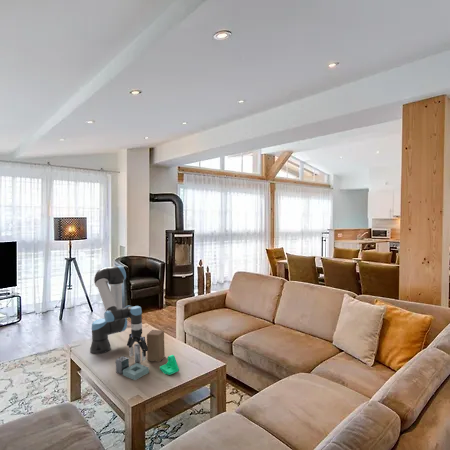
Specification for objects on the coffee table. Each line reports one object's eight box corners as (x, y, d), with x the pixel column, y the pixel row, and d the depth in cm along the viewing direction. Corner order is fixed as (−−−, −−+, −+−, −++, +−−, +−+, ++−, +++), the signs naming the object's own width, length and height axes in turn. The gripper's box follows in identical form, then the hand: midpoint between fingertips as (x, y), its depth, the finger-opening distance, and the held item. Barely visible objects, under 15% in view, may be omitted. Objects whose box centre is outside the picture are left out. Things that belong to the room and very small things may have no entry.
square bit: (116, 372, 220) (115, 359, 219) (123, 368, 225) (123, 356, 224) (121, 374, 216) (121, 361, 216) (129, 371, 221) (128, 358, 221)
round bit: (133, 364, 231) (133, 345, 230) (138, 362, 234) (137, 343, 233) (137, 365, 228) (136, 346, 228) (141, 363, 232) (141, 344, 231)
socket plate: (122, 375, 216) (122, 370, 216) (137, 367, 226) (136, 362, 225) (134, 380, 209) (134, 375, 209) (148, 372, 219) (148, 367, 219)
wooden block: (159, 362, 233) (159, 335, 232) (146, 361, 235) (146, 334, 234) (165, 356, 243) (164, 330, 242) (152, 355, 245) (151, 329, 244)
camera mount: (159, 370, 222) (158, 355, 221) (168, 366, 227) (168, 352, 227) (169, 376, 213) (169, 361, 213) (178, 372, 219) (178, 357, 218)
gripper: (121, 326, 234) (122, 356, 235) (144, 333, 220) (145, 364, 221) (129, 323, 240) (130, 352, 241) (152, 330, 226) (153, 360, 227)
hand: (137, 358), depth 231 cm, fingers open, 12 cm apart
